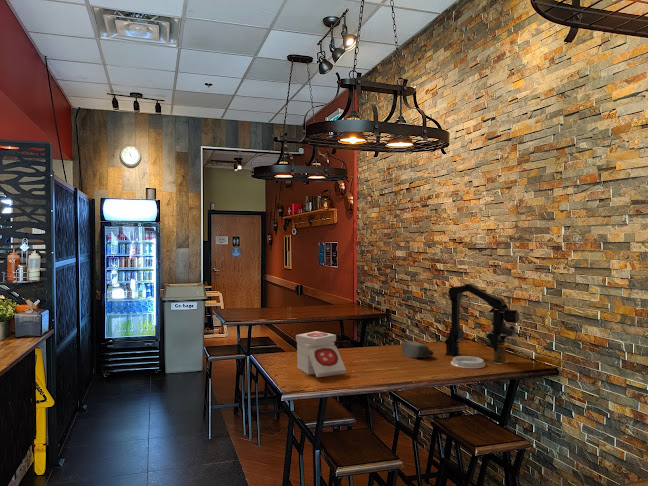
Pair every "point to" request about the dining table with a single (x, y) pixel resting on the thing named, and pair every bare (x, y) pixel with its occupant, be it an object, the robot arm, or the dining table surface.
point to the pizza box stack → (318, 354)
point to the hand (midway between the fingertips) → (498, 349)
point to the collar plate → (468, 362)
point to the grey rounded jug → (415, 350)
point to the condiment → (500, 353)
